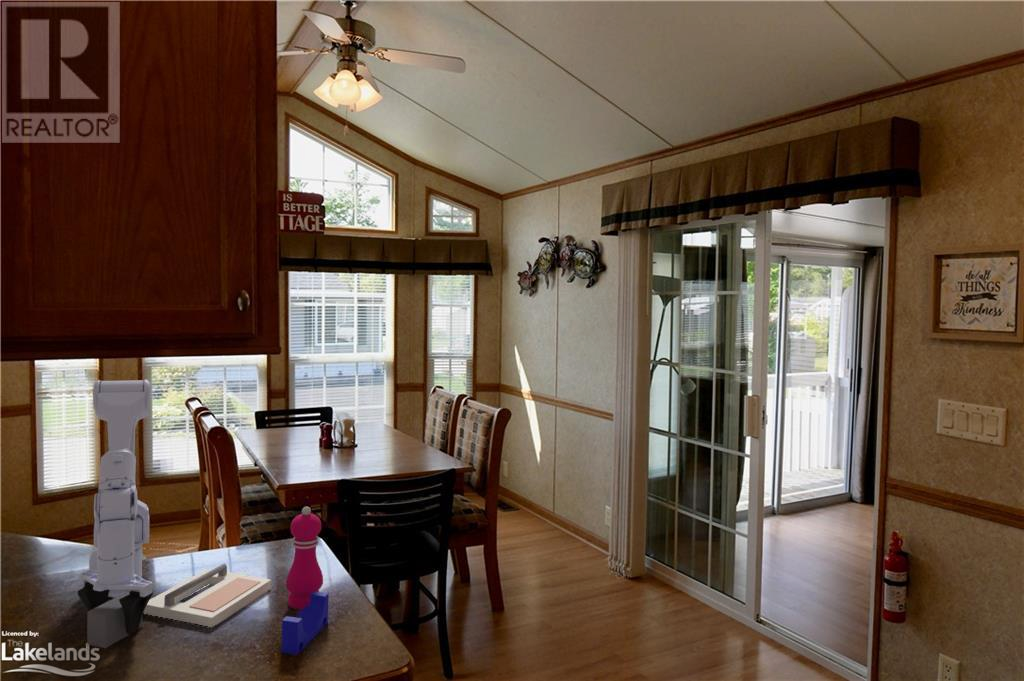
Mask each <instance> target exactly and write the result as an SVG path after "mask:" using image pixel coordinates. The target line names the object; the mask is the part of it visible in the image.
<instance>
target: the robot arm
mask: <svg viewBox="0 0 1024 681" xmlns="http://www.w3.org/2000/svg"><path fill="white" fill-rule="evenodd" d="M92 391H93V392H92V407H93V410H94V413H95V415H96V416H97V419H98V420H101V421H104V422H105V421H106V422H107V438H108V439H107V440H108V441H107V442H108V444H107V445H108V451H107V452H105V453H104V454H103V455H102V456H101V457H100V461H99V462H100V464H99V476H98V478H99V480H98V490H97V491H98V492H95V494H94V500H93V517H94V524H93V546H94V547H95V548H94V550H92V552H91V554H90V556H89V559H88V560H89V561H88V570H86V571H84V572H81V573H79V576H78V577H79V585H82V586H83V587H82V588H81V589H79V590H78V591H77V596H78V597H79V598H80V599H81V601H82V602H83V605H84V606H85V608H86V610H87V612H88V611H90V610H92V609H94V608H96V607H98V606H100V605H102V604H104V603H106V602H108V601H109V600H108V599H109V598H112V599H114V598H116V597H118V596H120V595H122V594H124V593H129V595H127V596H125V597H123V598H121V599H119V602H120V604H121V606H122V608H123V611H124V616H125V629H126V633H127V634H130V635H131V634H133V633H135V632H137V631H139V630H140V629H139V625H140V622H141V618H142V619H143V615H144V614H143V612H144V610H145V607H146V605H147V603H148V601H149V600H150V599H152V596H153V595H154V583H153V582H152V581H150V580H146V579H144V578H143V545H145V544H147V543H148V542H149V540H150V513H149V512H150V511H149V510H150V509H149V507H148V505H147V504H146V503H145V502H143V501H141V500H139V499H138V490H137V486H136V484H137V482H136V472H137V470H136V469H137V466H136V465H137V457H136V447H135V446H136V445H135V444H136V441H135V440H136V428H137V425H138V423H139V421H140V420H142V419H143V420H144V419H145V418H148V417H149V414H150V408H151V382H150V381H149V380H148V379H143V380H142V379H141V380H140V379H139V380H135V379H134V380H100V379H98V380H96V381H95V382H94V384H93V388H92ZM136 630H137V631H136Z"/></svg>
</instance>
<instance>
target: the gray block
mask: <svg viewBox="0 0 1024 681" xmlns="http://www.w3.org/2000/svg"><path fill="white" fill-rule="evenodd" d="M127 595H129V593H124V594H122V595H120V596H118V597H116V598H112V599H109V600H107V602H106V603H104V604H102V605H100V606H98V607H96V608H94V609H92V610H90V611H88V610H87V613H86V614H87V617H86V618H87V619H86V620H87V624H86V628H87V629H86V630H87V633H86V635H87V638H86V639H87V640H86V642H87V645H89V646H93V647H97V648H101V649H102V648H103V649H107V648H109V647H110V646H113V645H114V644H115V643H117V642H119V641H121V640H123V639H125V637H127V636H130V635H129V634H127V633H126V629H125V616H124V611H123V608H122V606H121V604H120V602H119V599H121V598H123V597H125V596H127ZM140 627H142V628H143V617H142V618H141V622H140V625H139V628H140ZM140 629H141V628H140Z"/></svg>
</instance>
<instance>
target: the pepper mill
mask: <svg viewBox="0 0 1024 681" xmlns="http://www.w3.org/2000/svg"><path fill="white" fill-rule="evenodd" d="M311 512H312V510H311V507H309V506H304V507H303V508H302V509H301V513H300V514H298V515H296V516H295V517H294V518H293V519H292V520H291V523H290V529H289V530H290V534H291V535H292V536H293V538H292V546H293V547H294V556H293V557H294V558H293V561H292V564H291V567H290V568H289V571H288V573H287V576H286V582H285V583H286V584H285V587H286V589H287V591H288V592H289V593H288V598H287V600H288V602H287V605H288V607H290V608H291V609H295V610H302V609H303V608H304V607H305V606H306V605H308V606H309V603H310V594H312V593H313V592H314V591H317V592H320V591H319V590H320V589H321V587H323V584H324V575H323V572H322V570H321V567H320V565H319V562H318V558H317V546H318V545H319V536H318V535H319V534H320V532H321V530H322V522H321V519H320V517H319V516H318V515H316V514H314V513H311Z"/></svg>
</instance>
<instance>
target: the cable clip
mask: <svg viewBox="0 0 1024 681" xmlns="http://www.w3.org/2000/svg"><path fill="white" fill-rule="evenodd" d="M329 597H330V596H329V592H323V591H319V592H317V591H314V592H313V593H312V594H310V603H309V606H308V605H306V606H305V607H304V608H303V609H300V610H299V612H298V616H297V617H295V616H285V617H284V618H283V619H281V620H282V621H281V653H283V654H284V653H285V654H290V655H295V656H297V655H298V654H300V652H302V650H304V648H306V646H307V645H308V644H309V643H310V642H311V641H312V640H313V639H314V637H316V636H317V635H318V634H319V633H320V631H321V630H323V628H325V626H326V625H327V624H328V622H329Z"/></svg>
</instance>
